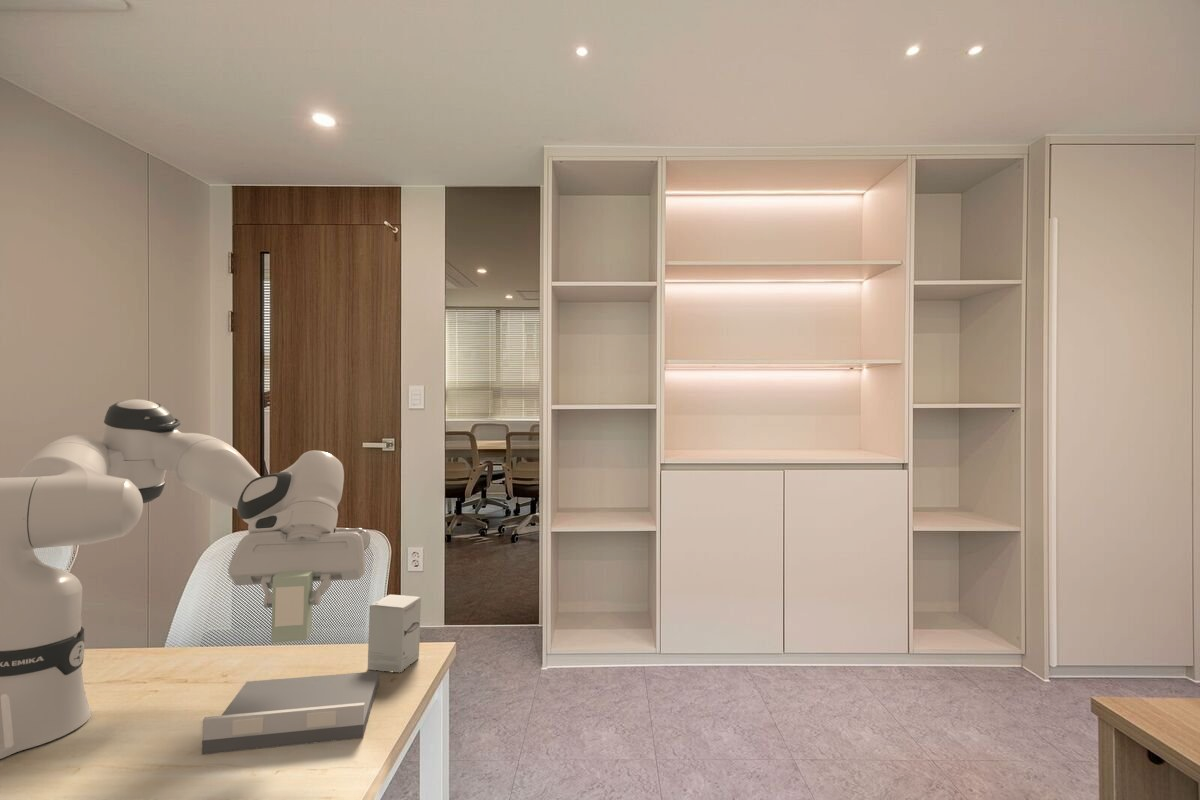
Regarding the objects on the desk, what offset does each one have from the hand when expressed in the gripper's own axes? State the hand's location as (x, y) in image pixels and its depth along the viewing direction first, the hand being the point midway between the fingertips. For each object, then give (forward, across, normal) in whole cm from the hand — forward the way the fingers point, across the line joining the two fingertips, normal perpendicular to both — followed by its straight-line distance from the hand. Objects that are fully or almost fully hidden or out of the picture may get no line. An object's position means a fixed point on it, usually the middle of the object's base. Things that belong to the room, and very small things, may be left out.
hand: (291, 604), depth 93 cm
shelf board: (+10, -1, -17) cm, 20 cm away
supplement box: (-1, -14, -30) cm, 33 cm away
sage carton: (+3, 0, -4) cm, 5 cm away
